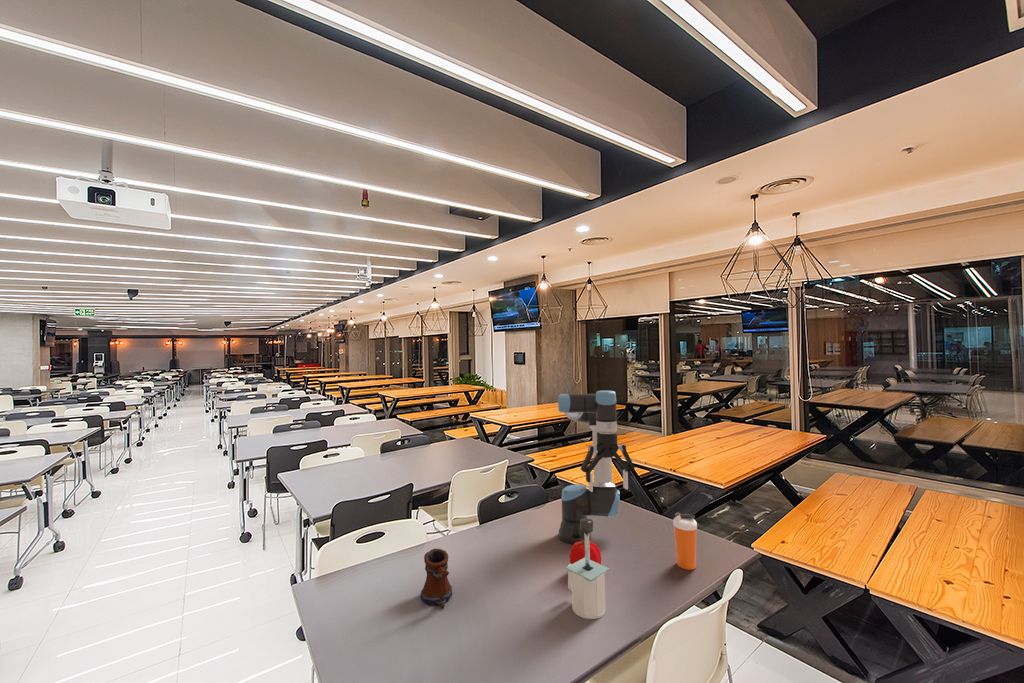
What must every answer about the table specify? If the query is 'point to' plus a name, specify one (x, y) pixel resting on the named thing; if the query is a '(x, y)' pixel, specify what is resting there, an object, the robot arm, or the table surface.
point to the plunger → (586, 539)
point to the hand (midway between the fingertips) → (608, 489)
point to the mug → (436, 578)
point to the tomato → (579, 552)
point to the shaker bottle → (685, 540)
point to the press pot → (587, 589)
